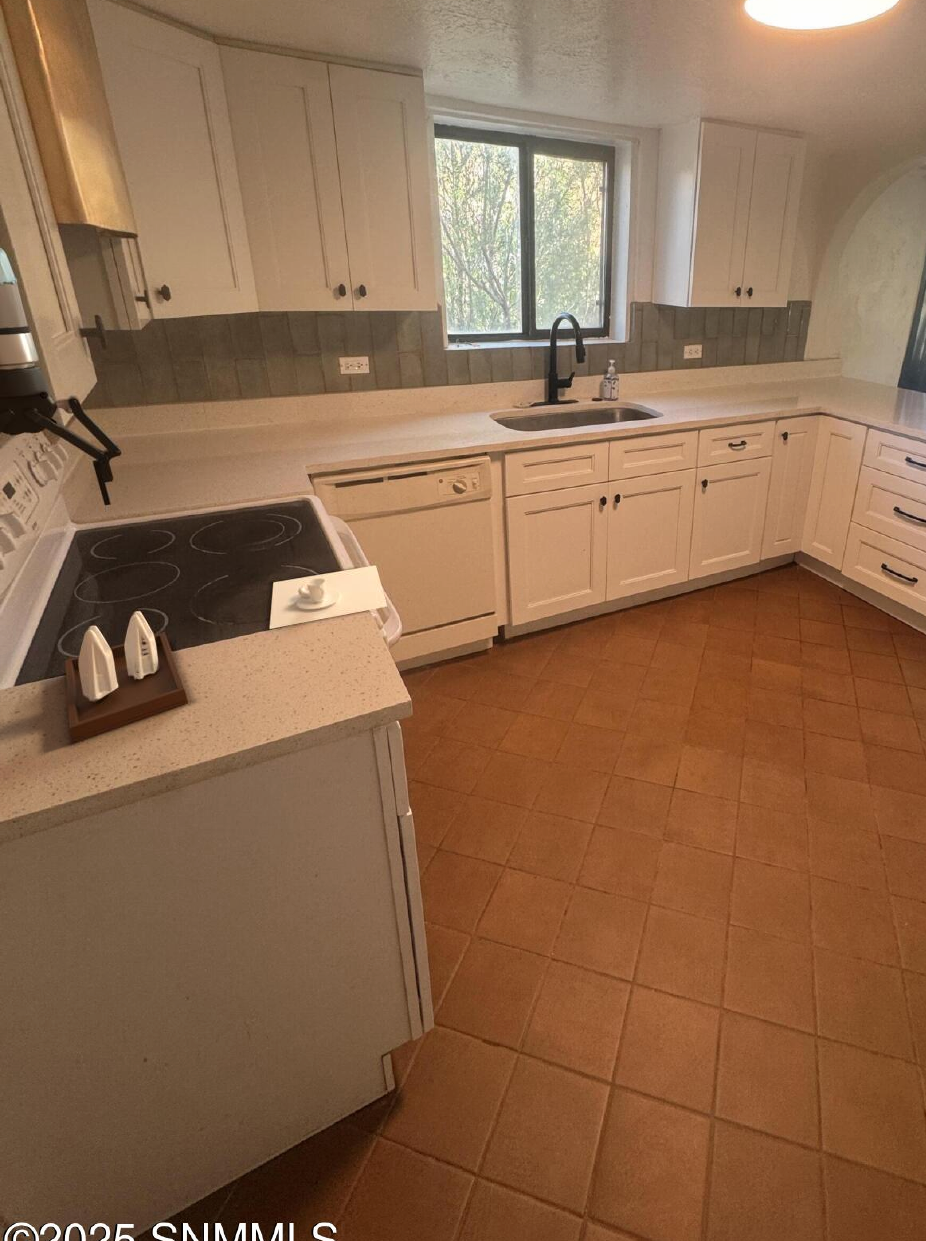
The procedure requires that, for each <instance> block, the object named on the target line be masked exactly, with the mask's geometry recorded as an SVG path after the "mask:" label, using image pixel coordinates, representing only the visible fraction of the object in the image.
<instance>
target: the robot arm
mask: <svg viewBox="0 0 926 1241" xmlns="http://www.w3.org/2000/svg"><path fill="white" fill-rule="evenodd" d="M39 360H40V358H39V355H38V352H37V348H36V345H35V341H34V338H33V334H32V331H31V330H30V326H29V325H28V321H27V318H26V314H25V310H24V305H23V302H22V297H21V293H20V290H19V285H18V279H17V277H16V276H15V273H14V270H13V268H12V266H11V262H10V260H9V258H8V256H7V253H6V251H5V250H4V249H3V248H2V247H0V434H5V435H8V436H9V435H10V436H19V435H21V434H39V433H41V432H43V431H45V429H46V430H47V431H49V432H51V433H52V434H54V435H56V436H58V437H60V438H62V440H64V441H66V442H68V443H69V444H70V445H72V446H74V447H75V448H77V449H78V450H80V451H82V452H84V453H85V454H87V455H89V456H90V457H92V458H93V459H95V460H92V465H93V469H94V471H95V476H96V479H97V484H98V486H99V490H100V493H101V497H102V501H103V504H104V506H111V505H112V503H111V499H110V495H109V493H108V489H107V485H106V483H112V482H113V481H114V475H113V471H112V467H111V464H110V462H111V460H113V459H114V458H117V457H120V456H121V455H122V449H121V447H120V446H119V445H118V444H117V443H116V442H115V441H114V440H113V439H112V437H110V436H109V435H108V434H107V433H106V432H105V431H104V429H102V427H101V426H99V425H98V423H97V422H95V420H94V419H93V418H92V417H91V416H90V415H89V414H88V413H87V412H86V411H85V410H84V409H83V407H82V406H83V405H82V403H81V401H80V399H79V397H78V396H75V395H70V396H69V397H67V398H61V399H56V400H54V399H53V397H52V396H51V395H50V392H49V389H48V386H47V382H46V379H45V375H44V372H43V369H42V367H40V366H39V365H36V364H35V363H37V362H39ZM58 409H62V410H64V412H65V413H67V414H71V415H74V417H75V418H76V420H78V421H79V423H81V425H82V426H83V427H85V428H86V430H88V432H89V433H91V435H92V436H93V437H94V438H95V439H96V440H97V441H98V442H99V443H100V444H101V445H102V446H104V448H105V449H104V450H103V449H101V448H99V447H98V446H96V445H94V444H93V443H91V442H89V441H88V440H87V439H85V438H83V437H82V436H81V435H79V434H77V433H76V432H74V431H72V430H71V429H69V428H68V427H67V426H65V425H63V424H62V423H61V422H59V421H58V420H56V419H54V418H53V417H54V416H55V414H56V412H57V411H58Z"/></svg>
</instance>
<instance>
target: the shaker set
mask: <svg viewBox="0 0 926 1241" xmlns="http://www.w3.org/2000/svg"><path fill="white" fill-rule="evenodd" d="M154 635H155V633H154V632H153V631H152V628H151V627H150V625H149V624H148V622H147V620H146V618H145V616H144V615H143V614H142V612H141V611H140V610H138V611H137V610H135V611H134V612H133V614H132V615H131V617H130V619H129V623H128V626H127V630H126V634H125V638H124V643H125V644H124V643H123V644H124V648H125V656H126V663H127V670H128V675H129V676H130V675H132V676H134V679H135V678H138V679H142V678H143V676H144V675H147V674H149V673H155V672H156V671H157V670H158V669H159V663H158V656H157V650H156V643H155V638H154ZM78 657H79V661H78V662H79V672H80V678H81V684H82V690H83V695H84V696H85V697H86V698H88V699H89V700H90V701H93V702H95V701H97V700H99V699H101V698H102V697H104V696H105V695H107V694H109V693H110V692H112V691H114V690H115V689H116V688H118V683H117V678H116V672H115V666H114V660H113V655H112V651H111V649H110V645H109V644H108V642H107V640H106V638H105V636H104V635H103V634H102V632H101V631H100V629H99V628H98V627H97V626H96V625H91V626H88V628H87V630H86V631H85V632H84V636H83V638H82V643H81V647H80V651H79V656H78ZM136 670H137V671H136ZM137 672H139V673H137ZM135 680H136V679H135Z"/></svg>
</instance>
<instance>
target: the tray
mask: <svg viewBox="0 0 926 1241" xmlns="http://www.w3.org/2000/svg"><path fill="white" fill-rule="evenodd" d="M154 638H155V643H156V650H157V656H158V663H159V669H158V670H157V671H156V672H155V673H149V674H147V675H144V676H143V678H142V679H138V678H135V679H136V680H135V679H134V676H132V675H130V676H129V675H128V670H127V663H126V656H125V648H124V644H125V642H124V643H121V644H117V645H114V646H111V647H110V646H109V647H110V649H111V651H112V655H113V660H114V666H115V672H116V678H117V683H118V688H116V689H115V690H114V691H112V692H110V693H109V694H107V695H105V696H104V697H102V698H101V699H99V700H97V701H95V702H93V701H90V700H89V699H88V698H86V697H85V696H84V695H83V690H82V684H81V678H80V672H79V662H78V661H79V656H76V657H72V658H68V659H65V660H64V667H65V668H64V669H65V682H66V684H65V686H66V700H67V714H68V715H67V716H68V717H67V718H68V729H69V732H70V735H71V738H72V739H73V742H74V743H78V742H80V741H83V740H86V739H89V738H92V737H95V736H98V735H100V734H103V733H106V732H109V731H112V730H115V729H117V728H120V727H123V726H125V725H129V724H133V723H135V722H137V721H141V720H143V719H146V718H149V717H152V716H155V715H157V714H160V713H163V712H166V711H169V710H172V709H175V708H178V707H181V706H183V705H186V704H188V703H189V699H188V696H187V692H186V689H185V686H184V683H183V680H182V677H181V675H180V672H179V669H178V667H177V666H178V665H177V663H176V661H175V658H174V654H173V652H172V648H171V646H170V643H169V640H168V638H167V635H166V633H165V631H162V632H159V633H156V634H154ZM136 671H137V670H136ZM137 673H139V672H137Z"/></svg>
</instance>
